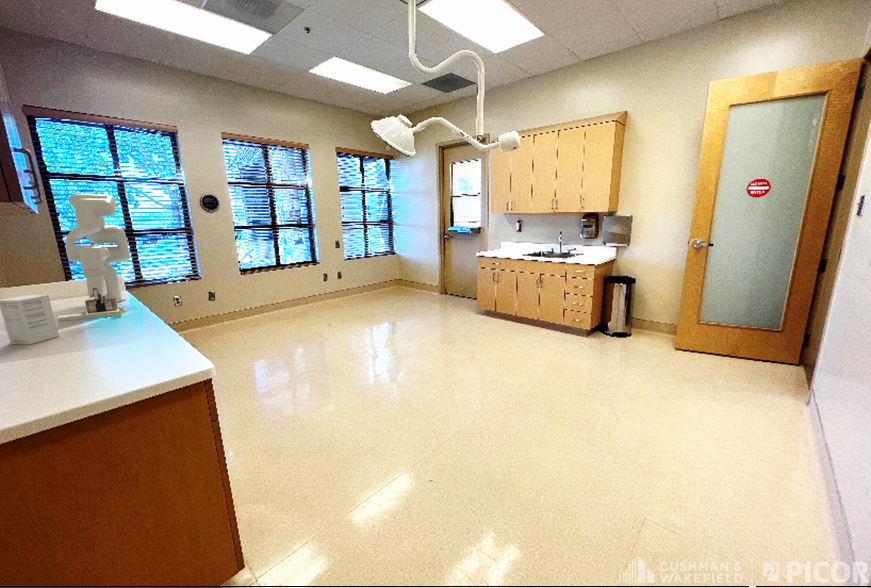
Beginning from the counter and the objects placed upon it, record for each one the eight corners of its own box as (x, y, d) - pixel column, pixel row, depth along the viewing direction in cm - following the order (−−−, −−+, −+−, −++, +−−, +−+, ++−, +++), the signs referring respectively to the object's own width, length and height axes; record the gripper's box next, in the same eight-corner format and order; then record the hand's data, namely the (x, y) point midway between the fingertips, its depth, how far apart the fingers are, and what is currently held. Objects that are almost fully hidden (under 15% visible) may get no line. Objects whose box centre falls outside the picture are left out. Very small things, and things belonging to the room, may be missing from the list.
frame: (90, 311, 167) (87, 299, 165) (117, 308, 172) (115, 297, 171) (87, 313, 163) (84, 301, 162) (115, 310, 168) (113, 298, 167)
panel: (51, 319, 163) (50, 312, 163) (127, 310, 178) (126, 304, 177) (40, 326, 152) (38, 319, 151) (122, 316, 166) (120, 310, 165)
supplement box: (60, 336, 137) (49, 294, 134) (31, 344, 128) (19, 300, 125) (38, 336, 138) (28, 294, 135) (9, 344, 129) (-4, 299, 126)
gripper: (88, 271, 168) (96, 308, 172) (78, 275, 155) (87, 315, 158) (109, 270, 172) (116, 306, 176) (100, 274, 159) (109, 313, 162)
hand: (102, 310), depth 167 cm, fingers closed on frame, 4 cm apart
